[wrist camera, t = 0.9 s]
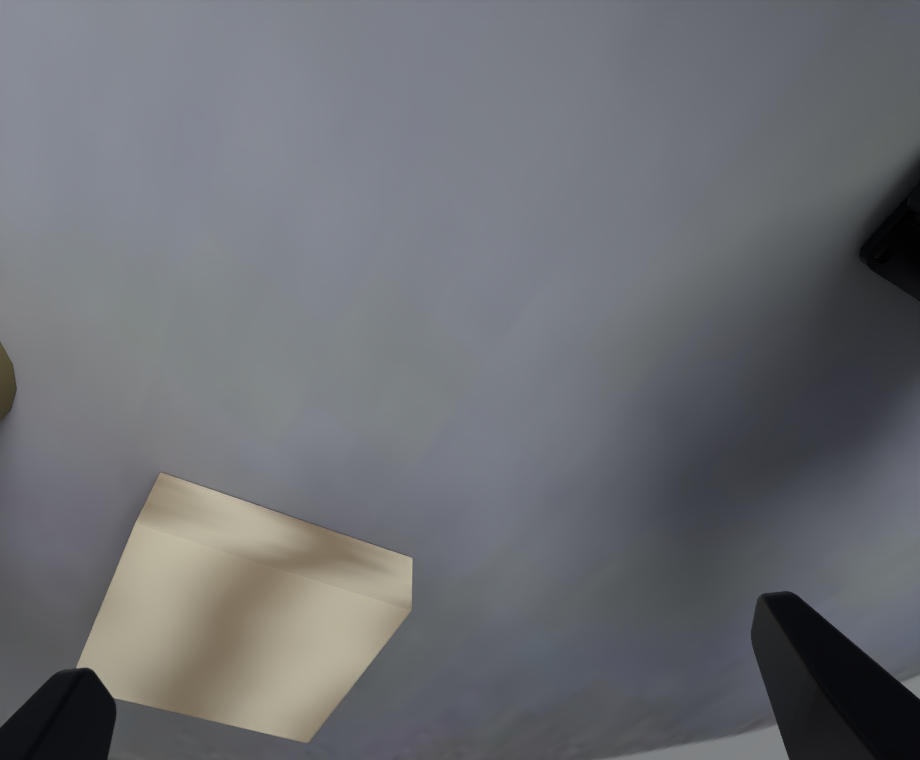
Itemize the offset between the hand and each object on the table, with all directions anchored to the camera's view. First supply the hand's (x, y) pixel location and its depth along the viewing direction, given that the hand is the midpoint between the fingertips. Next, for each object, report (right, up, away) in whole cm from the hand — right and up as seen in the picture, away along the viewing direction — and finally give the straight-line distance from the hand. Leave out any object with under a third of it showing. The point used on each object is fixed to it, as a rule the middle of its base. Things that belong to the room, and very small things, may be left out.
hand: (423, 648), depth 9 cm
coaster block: (-8, -5, +19) cm, 21 cm away
